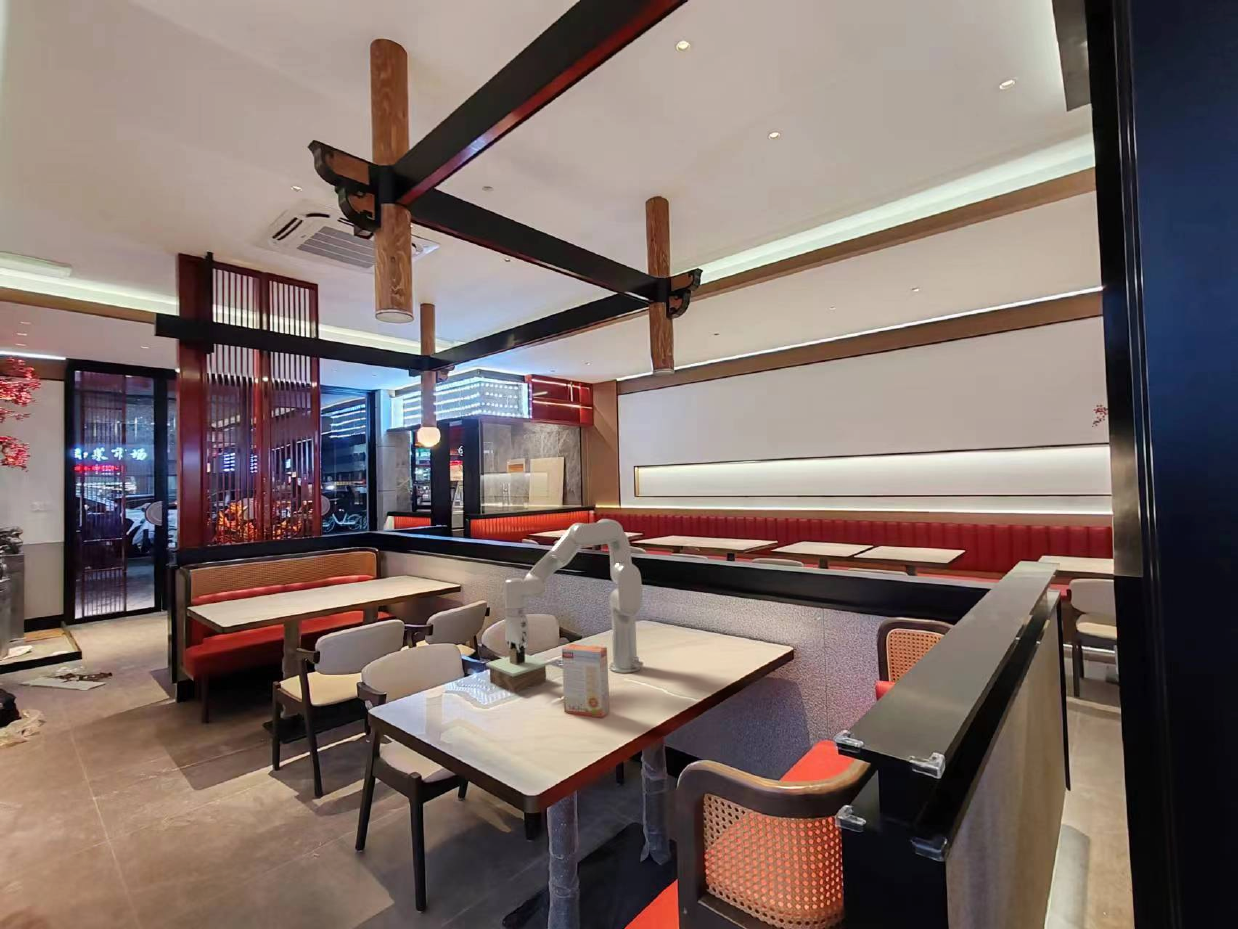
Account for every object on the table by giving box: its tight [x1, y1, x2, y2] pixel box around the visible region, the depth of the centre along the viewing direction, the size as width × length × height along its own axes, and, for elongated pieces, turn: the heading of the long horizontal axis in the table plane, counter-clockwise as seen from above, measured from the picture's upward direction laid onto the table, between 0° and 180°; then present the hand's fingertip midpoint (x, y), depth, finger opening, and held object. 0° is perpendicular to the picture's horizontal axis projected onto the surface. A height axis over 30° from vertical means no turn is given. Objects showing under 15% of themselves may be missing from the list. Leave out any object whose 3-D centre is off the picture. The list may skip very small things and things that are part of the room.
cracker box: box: [561, 643, 611, 719], centre depth 180 cm, size 14×6×21 cm, turn 65°
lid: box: [485, 646, 550, 676], centre depth 207 cm, size 18×16×7 cm
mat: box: [548, 659, 563, 670], centre depth 221 cm, size 20×18×1 cm
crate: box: [489, 666, 547, 694], centre depth 207 cm, size 16×14×7 cm
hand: (517, 660), depth 207 cm, fingers closed on lid, 4 cm apart
